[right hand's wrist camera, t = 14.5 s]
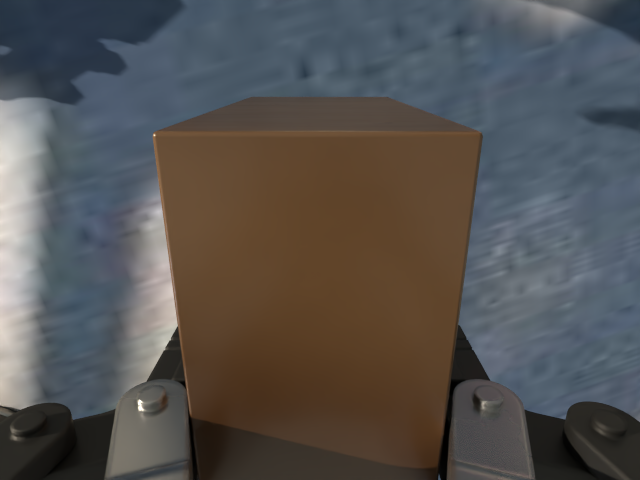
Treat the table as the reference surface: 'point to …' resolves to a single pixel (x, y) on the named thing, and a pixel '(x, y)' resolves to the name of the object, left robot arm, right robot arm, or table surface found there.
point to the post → (317, 283)
